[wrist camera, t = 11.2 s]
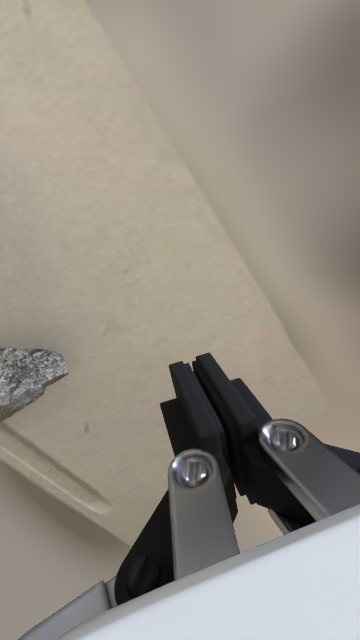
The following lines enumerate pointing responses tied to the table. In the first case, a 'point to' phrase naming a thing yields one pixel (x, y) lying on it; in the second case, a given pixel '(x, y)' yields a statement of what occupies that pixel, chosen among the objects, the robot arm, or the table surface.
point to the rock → (26, 376)
